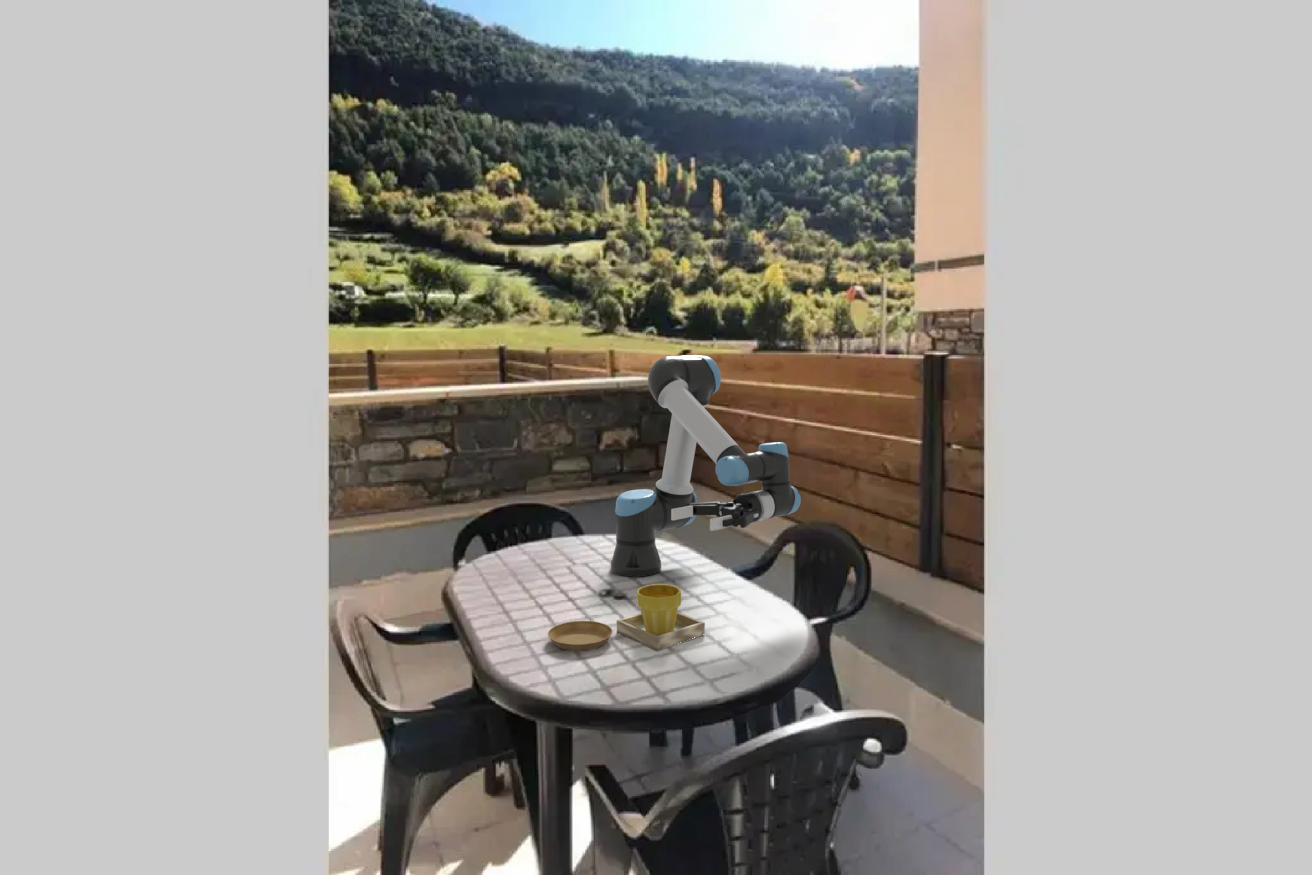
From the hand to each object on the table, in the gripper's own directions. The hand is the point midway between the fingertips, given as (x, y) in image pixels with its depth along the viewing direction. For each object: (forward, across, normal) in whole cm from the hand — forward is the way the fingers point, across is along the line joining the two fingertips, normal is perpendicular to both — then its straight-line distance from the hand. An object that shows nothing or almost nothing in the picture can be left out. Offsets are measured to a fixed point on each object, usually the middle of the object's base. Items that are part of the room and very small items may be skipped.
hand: (691, 519), depth 190 cm
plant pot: (+10, 0, -25) cm, 27 cm away
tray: (+10, 0, -26) cm, 28 cm away
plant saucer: (+27, +8, -26) cm, 38 cm away
